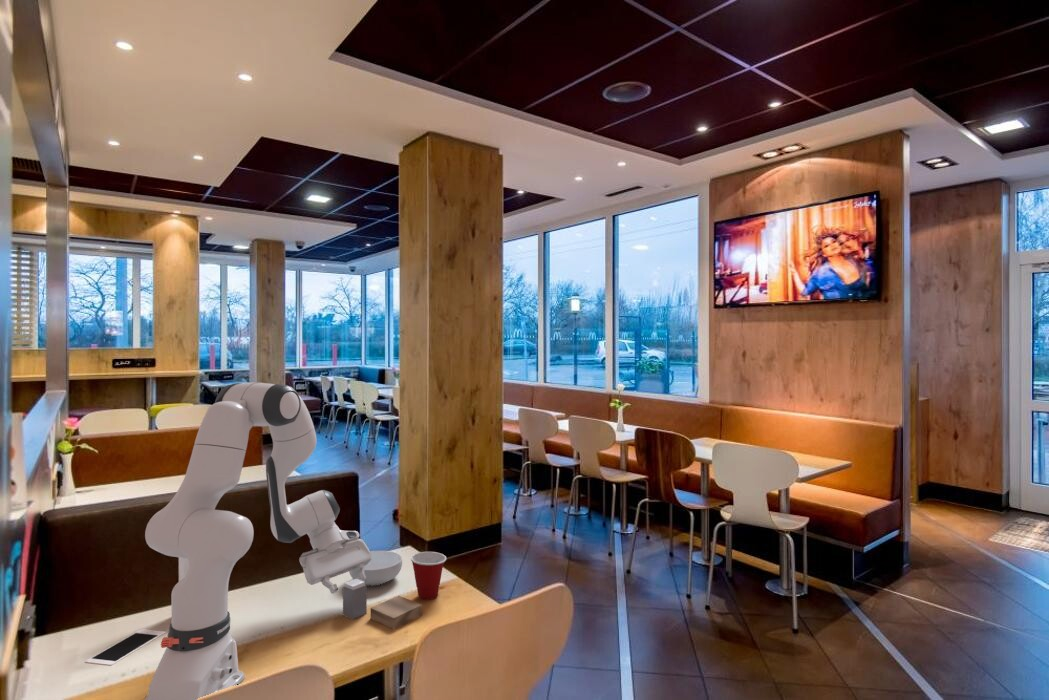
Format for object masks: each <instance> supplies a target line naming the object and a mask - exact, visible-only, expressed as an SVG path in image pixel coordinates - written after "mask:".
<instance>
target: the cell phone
mask: <svg viewBox="0 0 1049 700" xmlns="http://www.w3.org/2000/svg"><path fill="white" fill-rule="evenodd" d="M164 634H166V631H164V630H163V631H162V630H154V629H145V628H144V629H143V628H142V629H139V630H137V631H136V632H134V633H132V634H130V635H129V636H127V637H125V638H123V639H121V640H119V641H118V642H116V643H115V644H113V645H111V646H109V647H107V648H106V649H104V650H102V651H100V652H99V653H96V654H95V655H93V656H92V657H90V658H88V659H86V660H85V661H84V662H85V663H86V664H92V665H93V664H96V665H103V666H113V665H115V664H117V663H118V662H120V661H122V660H123V659H125V658H126V657H128V656H130V655H131V654H133V653H135V652H136V651H138V650H140V649H141V648H143V647H145V646H146V645H148V644H150V643H151V642H153V641H154V640H155V641H156V639H158V638H159V637H161V636H163V635H164Z"/></svg>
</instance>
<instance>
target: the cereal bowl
mask: <svg viewBox="0 0 1049 700" xmlns="http://www.w3.org/2000/svg"><path fill="white" fill-rule="evenodd" d="M370 552H371V555H372V558H371V560H370V562H369V563H368V564H367V565H365V571H364V574H365V576H366V580H365V581H364V582H365V585H366V586H369V585H371V586H370V587H374V586H373V585H377V586H381V585H384V584H385V582H386V583H387V582H389V581H391V580H393V579H395V578H396V577H397V576H398V575H399V574H400V572H401V570H402V568H403V567H402V566H403V556H402V555H401V554H400V553H398V552H394V551H392V550H371V551H370ZM349 575H350V577H351V578H352V580H354V579H358V576H359V575H360V571H357V569H354V570H351V571H349ZM383 583H384V584H383ZM380 584H381V585H380Z"/></svg>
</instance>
